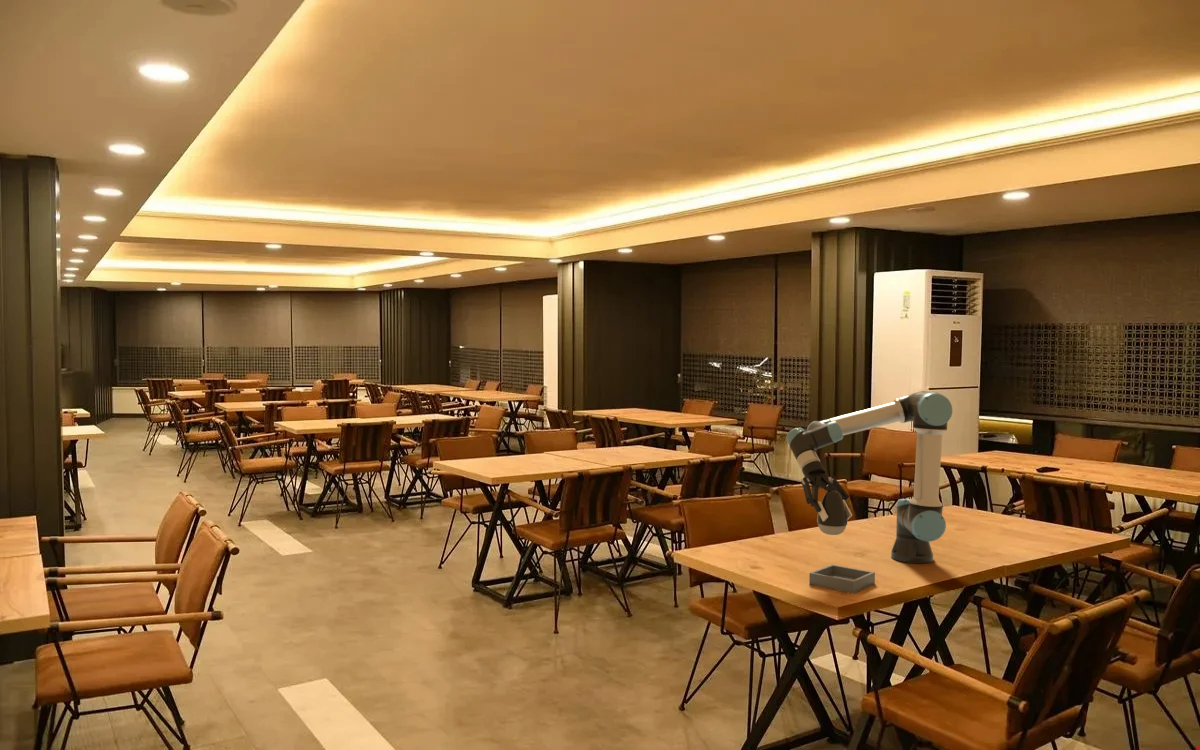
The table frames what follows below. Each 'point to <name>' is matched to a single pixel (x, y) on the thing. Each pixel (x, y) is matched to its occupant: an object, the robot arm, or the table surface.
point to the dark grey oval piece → (833, 514)
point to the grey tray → (842, 578)
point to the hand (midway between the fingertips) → (837, 518)
